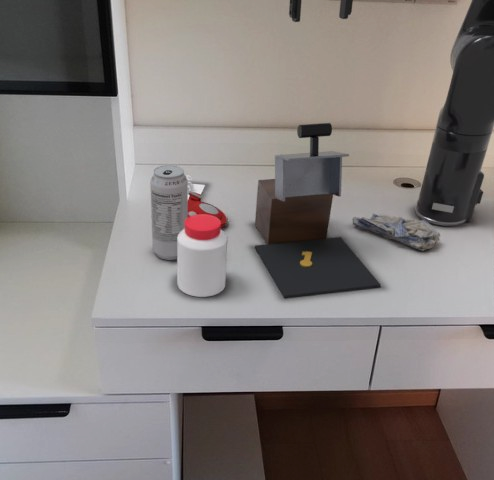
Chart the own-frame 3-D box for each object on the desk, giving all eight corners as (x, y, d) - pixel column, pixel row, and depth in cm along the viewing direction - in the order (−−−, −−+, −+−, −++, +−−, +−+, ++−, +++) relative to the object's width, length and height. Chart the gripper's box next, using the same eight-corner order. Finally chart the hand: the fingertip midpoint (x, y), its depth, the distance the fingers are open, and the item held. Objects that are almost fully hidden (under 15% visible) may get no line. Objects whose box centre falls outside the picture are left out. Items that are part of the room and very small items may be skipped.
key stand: (254, 225, 115) (258, 179, 110) (310, 219, 117) (316, 175, 111) (267, 245, 108) (271, 198, 103) (326, 239, 110) (333, 193, 105)
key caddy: (274, 124, 99) (288, 126, 93) (332, 120, 101) (350, 122, 95) (275, 198, 103) (288, 203, 97) (331, 193, 105) (347, 198, 99)
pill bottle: (235, 283, 98) (239, 222, 92) (201, 303, 94) (203, 239, 88) (201, 265, 103) (202, 206, 96) (167, 283, 98) (166, 221, 92)
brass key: (298, 264, 102) (298, 266, 102) (311, 266, 101) (311, 268, 101) (302, 250, 105) (302, 252, 106) (315, 252, 105) (314, 254, 105)
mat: (254, 247, 108) (254, 245, 108) (340, 239, 110) (340, 236, 110) (284, 298, 95) (284, 295, 95) (380, 287, 98) (380, 284, 97)
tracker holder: (239, 217, 115) (202, 222, 108) (230, 237, 117) (194, 243, 110) (197, 183, 121) (160, 186, 114) (190, 203, 123) (153, 206, 116)
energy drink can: (192, 247, 108) (193, 166, 99) (179, 264, 103) (179, 180, 95) (161, 241, 110) (159, 161, 101) (147, 257, 105) (143, 175, 96)
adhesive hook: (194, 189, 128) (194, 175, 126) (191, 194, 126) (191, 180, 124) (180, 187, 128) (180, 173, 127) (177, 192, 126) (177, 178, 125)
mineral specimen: (444, 245, 109) (450, 224, 107) (415, 259, 105) (420, 238, 103) (378, 215, 119) (382, 195, 116) (348, 227, 115) (352, 207, 112)
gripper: (294, -93, 91) (287, 26, 100) (383, -96, 93) (368, 20, 102) (278, -93, 97) (272, 19, 106) (362, -96, 99) (350, 14, 108)
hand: (319, 19), depth 104 cm, fingers open, 8 cm apart
